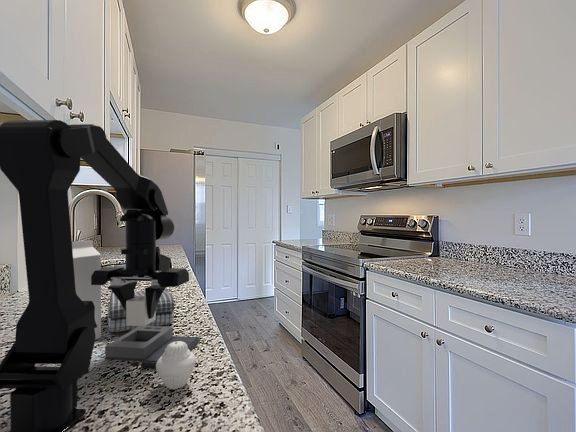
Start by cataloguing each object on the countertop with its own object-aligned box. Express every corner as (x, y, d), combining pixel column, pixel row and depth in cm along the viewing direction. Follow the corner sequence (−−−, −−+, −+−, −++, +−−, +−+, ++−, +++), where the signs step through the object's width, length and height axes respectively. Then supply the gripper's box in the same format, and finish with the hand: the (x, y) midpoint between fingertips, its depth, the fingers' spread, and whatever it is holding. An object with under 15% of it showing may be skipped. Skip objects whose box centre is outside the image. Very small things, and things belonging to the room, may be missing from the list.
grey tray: (144, 360, 58) (143, 347, 58) (105, 358, 58) (105, 345, 58) (172, 337, 68) (172, 326, 68) (139, 336, 69) (139, 325, 69)
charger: (144, 326, 61) (144, 301, 61) (126, 325, 62) (126, 300, 62) (155, 319, 65) (155, 296, 65) (138, 318, 66) (138, 295, 66)
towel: (107, 338, 69) (107, 303, 69) (107, 315, 85) (107, 287, 85) (177, 325, 77) (176, 294, 77) (165, 307, 93) (165, 281, 93)
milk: (57, 343, 66) (55, 241, 66) (85, 333, 71) (84, 239, 71) (73, 348, 63) (72, 242, 63) (102, 337, 69) (100, 240, 69)
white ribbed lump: (192, 370, 54) (192, 331, 54) (199, 388, 48) (199, 344, 48) (154, 380, 51) (154, 338, 51) (157, 399, 45) (157, 353, 45)
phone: (172, 369, 54) (172, 363, 54) (141, 367, 55) (141, 361, 55) (199, 341, 66) (199, 336, 66) (173, 340, 67) (173, 335, 67)
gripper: (199, 240, 70) (199, 307, 70) (124, 239, 72) (125, 305, 72) (176, 244, 59) (176, 324, 59) (88, 244, 61) (89, 321, 61)
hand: (141, 317), depth 63 cm, fingers closed on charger, 4 cm apart
